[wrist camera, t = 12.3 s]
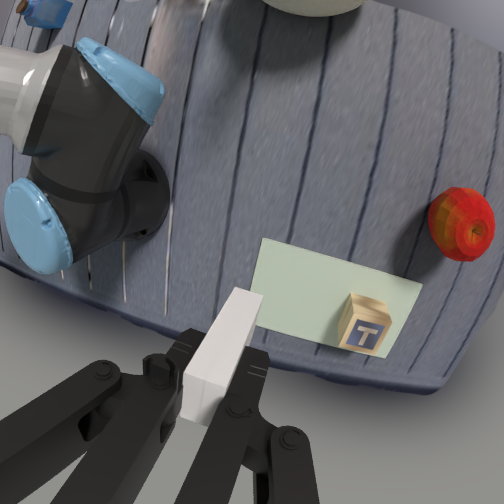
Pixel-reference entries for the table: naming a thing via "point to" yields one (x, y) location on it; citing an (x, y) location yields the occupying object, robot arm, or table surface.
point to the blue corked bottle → (44, 12)
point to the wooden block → (363, 324)
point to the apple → (461, 223)
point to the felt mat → (323, 293)
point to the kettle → (315, 6)
